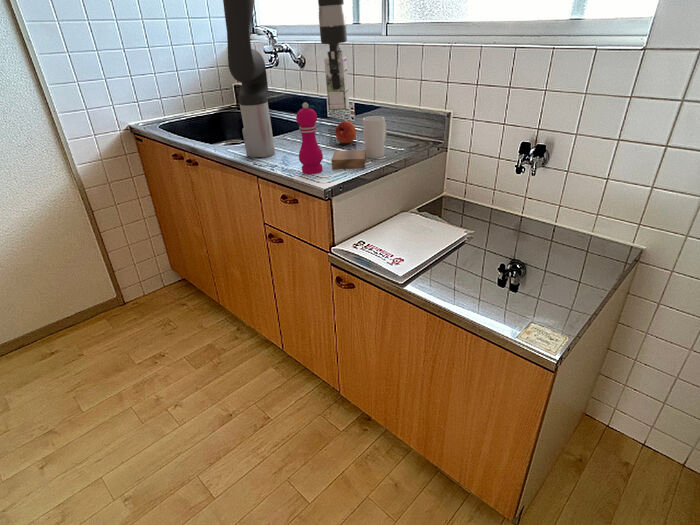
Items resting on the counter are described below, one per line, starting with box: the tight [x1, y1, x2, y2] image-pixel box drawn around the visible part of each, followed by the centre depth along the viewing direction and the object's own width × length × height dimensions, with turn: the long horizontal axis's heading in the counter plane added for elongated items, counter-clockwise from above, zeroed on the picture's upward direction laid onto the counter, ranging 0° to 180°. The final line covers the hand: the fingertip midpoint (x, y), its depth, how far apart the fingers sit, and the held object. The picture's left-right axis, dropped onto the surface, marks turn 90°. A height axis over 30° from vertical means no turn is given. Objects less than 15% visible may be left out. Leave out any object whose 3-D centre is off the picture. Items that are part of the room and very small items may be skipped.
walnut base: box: [331, 149, 367, 171], centre depth 133 cm, size 10×10×3 cm
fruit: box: [334, 120, 357, 144], centre depth 155 cm, size 8×8×8 cm
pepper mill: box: [296, 102, 324, 175], centre depth 125 cm, size 7×7×20 cm
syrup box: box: [323, 55, 350, 111], centre depth 128 cm, size 6×6×14 cm
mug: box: [362, 115, 387, 160], centre depth 138 cm, size 10×7×12 cm, turn 141°
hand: (337, 87), depth 129 cm, fingers closed on syrup box, 6 cm apart
